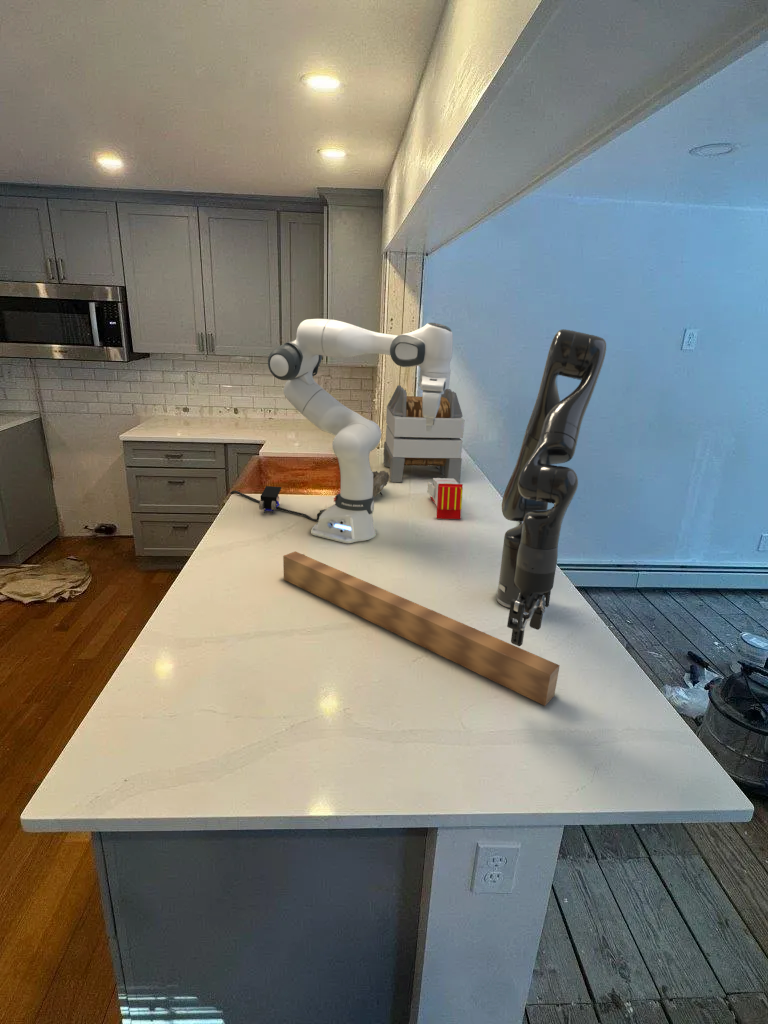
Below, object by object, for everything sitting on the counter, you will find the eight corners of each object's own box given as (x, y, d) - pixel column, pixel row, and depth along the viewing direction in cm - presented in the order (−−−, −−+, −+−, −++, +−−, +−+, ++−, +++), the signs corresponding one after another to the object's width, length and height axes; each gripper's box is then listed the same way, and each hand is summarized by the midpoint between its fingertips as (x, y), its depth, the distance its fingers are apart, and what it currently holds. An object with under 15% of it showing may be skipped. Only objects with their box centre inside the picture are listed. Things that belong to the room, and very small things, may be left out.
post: (283, 579, 163) (283, 555, 161) (295, 574, 166) (295, 551, 164) (545, 706, 115) (550, 675, 113) (554, 695, 119) (559, 665, 116)
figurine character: (276, 519, 211) (282, 502, 225) (275, 501, 208) (281, 484, 221) (258, 519, 211) (265, 501, 225) (257, 500, 208) (264, 484, 221)
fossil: (358, 476, 249) (385, 458, 244) (371, 493, 252) (398, 475, 247) (350, 497, 229) (380, 477, 224) (365, 515, 232) (394, 496, 227)
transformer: (382, 463, 289) (386, 382, 275) (445, 464, 293) (451, 384, 279) (390, 482, 257) (394, 392, 243) (460, 483, 261) (468, 394, 247)
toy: (455, 474, 240) (467, 485, 211) (453, 505, 243) (464, 520, 214) (426, 473, 240) (434, 484, 211) (425, 504, 243) (432, 519, 213)
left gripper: (426, 376, 177) (422, 420, 182) (420, 384, 158) (416, 433, 162) (446, 378, 176) (442, 422, 181) (443, 386, 157) (438, 435, 162)
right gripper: (538, 581, 104) (527, 657, 109) (568, 558, 114) (557, 629, 120) (501, 569, 108) (492, 643, 113) (534, 548, 118) (524, 616, 124)
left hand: (430, 427), depth 171 cm, fingers open, 8 cm apart
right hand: (525, 635), depth 116 cm, fingers open, 8 cm apart
